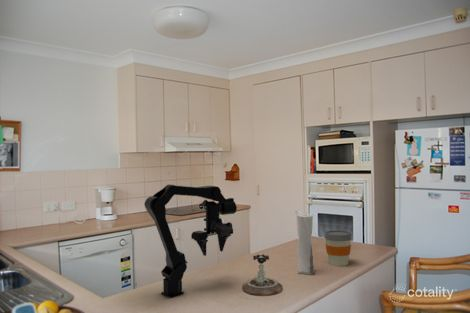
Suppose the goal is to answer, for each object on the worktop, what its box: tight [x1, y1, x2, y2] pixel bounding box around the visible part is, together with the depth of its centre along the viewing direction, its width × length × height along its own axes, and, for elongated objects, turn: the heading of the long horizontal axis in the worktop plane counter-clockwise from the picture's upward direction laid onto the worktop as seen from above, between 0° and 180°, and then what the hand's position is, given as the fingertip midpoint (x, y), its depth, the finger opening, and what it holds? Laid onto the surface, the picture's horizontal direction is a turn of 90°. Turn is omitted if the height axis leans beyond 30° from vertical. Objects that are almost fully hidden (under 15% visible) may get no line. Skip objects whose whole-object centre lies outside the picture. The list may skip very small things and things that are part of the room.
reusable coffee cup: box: [324, 230, 352, 267], centre depth 186 cm, size 13×13×15 cm
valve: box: [252, 253, 270, 287], centre depth 152 cm, size 7×7×12 cm
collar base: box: [241, 277, 283, 297], centre depth 152 cm, size 16×16×2 cm
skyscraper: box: [295, 210, 317, 276], centre depth 173 cm, size 8×8×28 cm
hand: (213, 253), depth 158 cm, fingers open, 9 cm apart
